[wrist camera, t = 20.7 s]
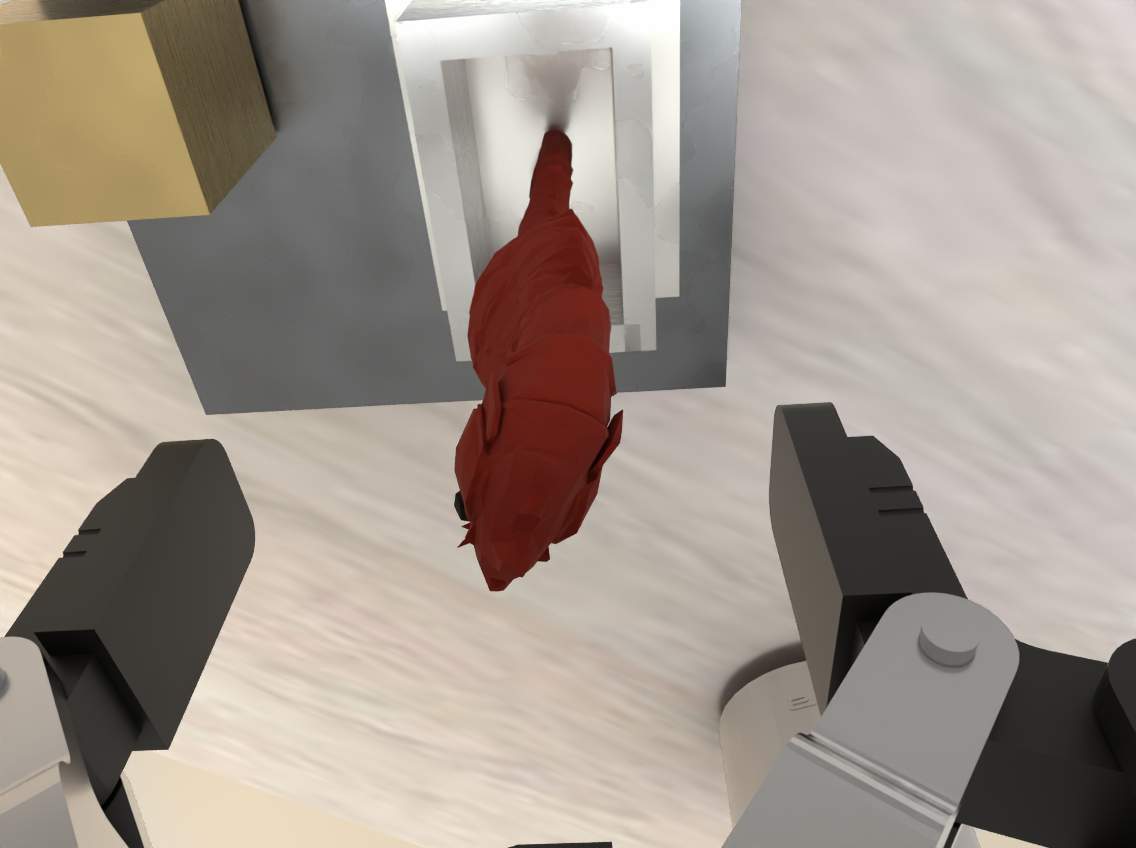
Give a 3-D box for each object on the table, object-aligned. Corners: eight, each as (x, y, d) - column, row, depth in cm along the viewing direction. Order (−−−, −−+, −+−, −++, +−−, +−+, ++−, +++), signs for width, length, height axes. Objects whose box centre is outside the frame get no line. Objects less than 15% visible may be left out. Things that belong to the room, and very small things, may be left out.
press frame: (719, 361, 28) (749, 490, 23) (221, 389, 29) (143, 519, 24) (741, -249, 19) (801, -261, 14) (2, -178, 20) (-203, -164, 15)
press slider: (276, 137, 22) (209, 214, 18) (128, 148, 23) (30, 226, 19) (228, -34, 20) (140, 12, 16) (63, -20, 20) (-64, 29, 16)
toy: (477, 227, 24) (371, 676, 12) (539, 32, 21) (483, 365, 9) (558, 254, 24) (535, 713, 12) (630, 67, 21) (695, 430, 9)
